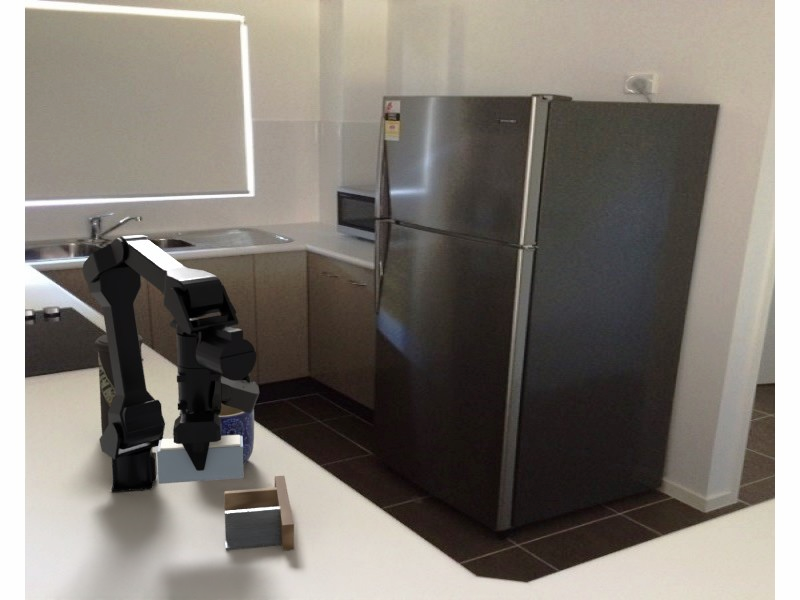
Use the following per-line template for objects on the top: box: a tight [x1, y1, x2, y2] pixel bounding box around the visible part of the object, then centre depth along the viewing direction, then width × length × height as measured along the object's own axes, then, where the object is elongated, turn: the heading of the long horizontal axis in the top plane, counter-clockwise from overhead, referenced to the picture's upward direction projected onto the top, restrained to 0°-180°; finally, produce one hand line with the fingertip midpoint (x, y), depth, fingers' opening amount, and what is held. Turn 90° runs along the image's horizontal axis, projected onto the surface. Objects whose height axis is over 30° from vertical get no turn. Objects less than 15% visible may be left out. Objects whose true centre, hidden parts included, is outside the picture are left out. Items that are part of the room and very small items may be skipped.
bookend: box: [224, 506, 282, 551], centre depth 111 cm, size 8×3×4 cm, turn 103°
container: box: [94, 333, 144, 435], centre depth 148 cm, size 9×9×20 cm
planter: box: [218, 403, 255, 466], centre depth 136 cm, size 11×11×11 cm
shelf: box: [224, 475, 295, 551], centre depth 116 cm, size 10×16×4 cm, turn 13°
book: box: [156, 435, 244, 485], centre depth 112 cm, size 12×4×5 cm, turn 103°
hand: (201, 463), depth 112 cm, fingers closed on book, 4 cm apart
